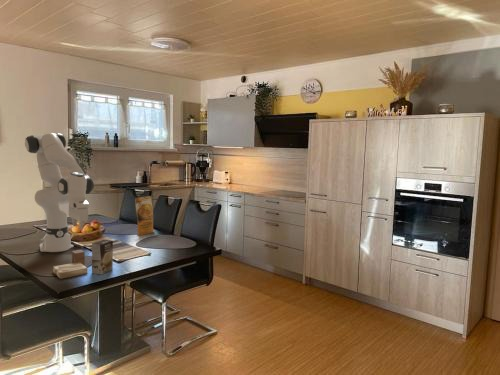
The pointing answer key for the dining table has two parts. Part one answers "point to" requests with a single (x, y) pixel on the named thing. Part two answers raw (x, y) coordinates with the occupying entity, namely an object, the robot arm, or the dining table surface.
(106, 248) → the coffee box
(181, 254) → the dining table surface
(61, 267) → the base slab
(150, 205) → the pancake mix bag
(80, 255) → the walnut block
